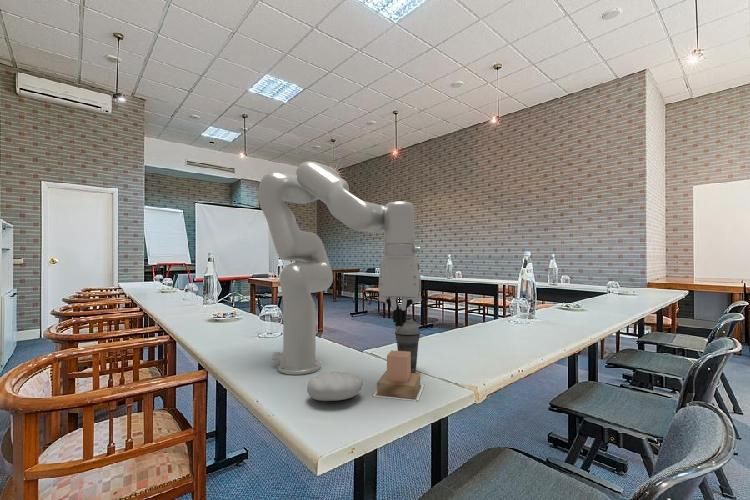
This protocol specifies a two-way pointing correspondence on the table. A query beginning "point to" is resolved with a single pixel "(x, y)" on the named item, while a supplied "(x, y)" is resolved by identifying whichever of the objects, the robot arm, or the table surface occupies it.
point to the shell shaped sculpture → (334, 386)
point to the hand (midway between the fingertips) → (399, 325)
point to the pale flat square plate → (404, 398)
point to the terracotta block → (398, 366)
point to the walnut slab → (399, 387)
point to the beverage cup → (408, 340)
